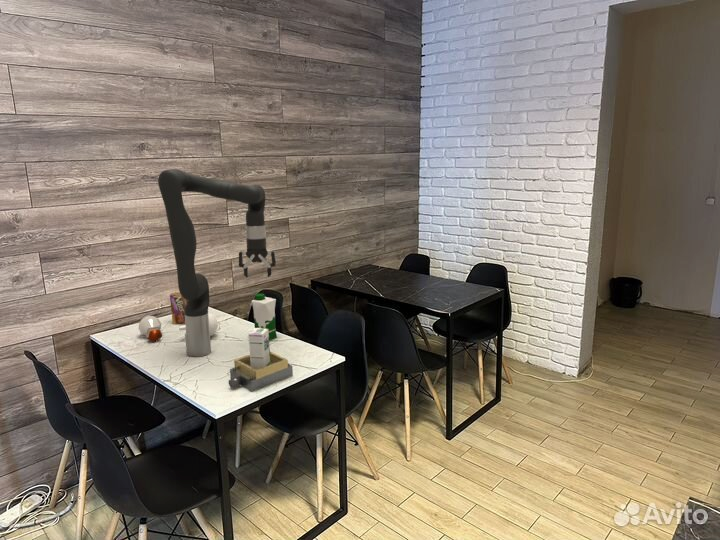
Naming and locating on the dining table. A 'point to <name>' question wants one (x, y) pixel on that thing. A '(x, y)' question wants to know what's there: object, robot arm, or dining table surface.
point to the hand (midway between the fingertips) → (258, 276)
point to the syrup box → (259, 348)
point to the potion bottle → (151, 328)
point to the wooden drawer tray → (259, 373)
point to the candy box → (177, 308)
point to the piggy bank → (212, 324)
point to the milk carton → (265, 314)
